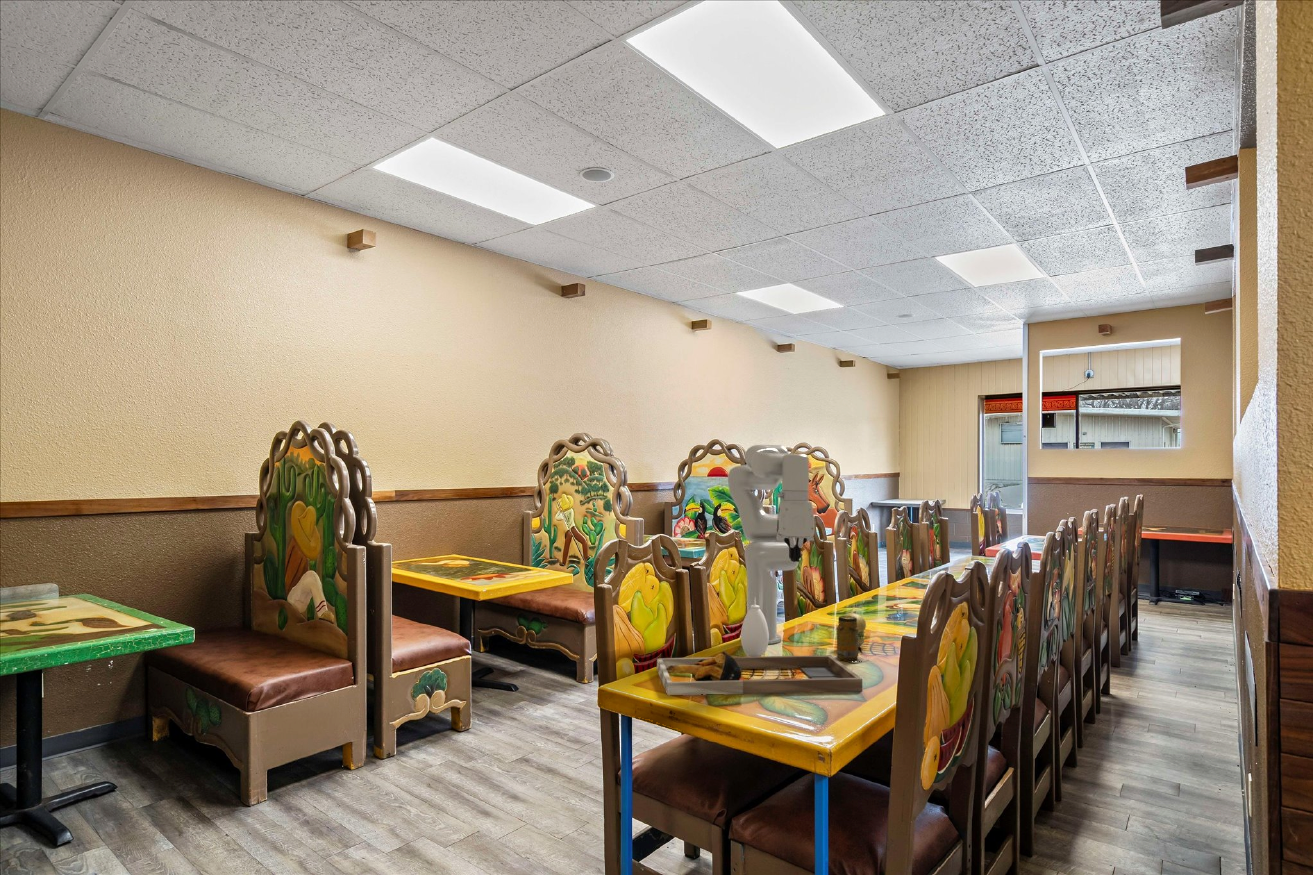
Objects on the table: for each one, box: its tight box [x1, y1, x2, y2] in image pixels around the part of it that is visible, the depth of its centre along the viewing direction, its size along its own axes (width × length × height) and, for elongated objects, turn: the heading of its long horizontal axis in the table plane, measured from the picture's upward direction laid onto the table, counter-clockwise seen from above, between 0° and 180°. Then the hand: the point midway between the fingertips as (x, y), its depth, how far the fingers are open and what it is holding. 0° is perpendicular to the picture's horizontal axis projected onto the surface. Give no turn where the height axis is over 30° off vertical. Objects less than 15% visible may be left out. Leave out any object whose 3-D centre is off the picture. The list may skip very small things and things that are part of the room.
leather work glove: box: [667, 650, 742, 681], centre depth 185 cm, size 9×11×18 cm
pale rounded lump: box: [843, 610, 867, 647], centre depth 224 cm, size 8×7×12 cm
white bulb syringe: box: [740, 597, 769, 657], centre depth 210 cm, size 8×8×18 cm
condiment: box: [832, 615, 869, 664], centre depth 211 cm, size 7×8×12 cm
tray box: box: [656, 654, 863, 696], centre depth 189 cm, size 22×49×3 cm, turn 97°
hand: (794, 561), depth 206 cm, fingers closed
